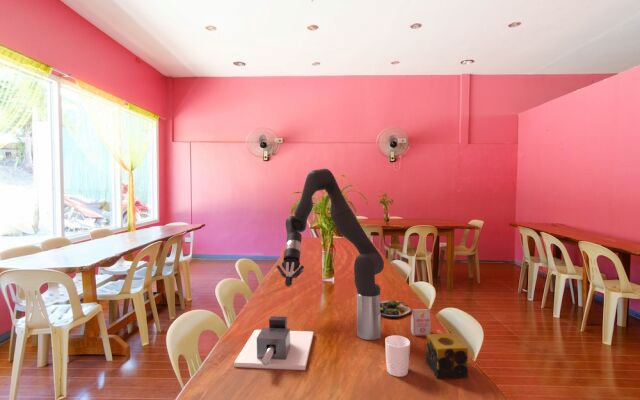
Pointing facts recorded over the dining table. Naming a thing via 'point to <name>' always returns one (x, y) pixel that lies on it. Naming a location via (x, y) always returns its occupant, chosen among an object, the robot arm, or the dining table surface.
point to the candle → (447, 356)
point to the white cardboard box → (420, 322)
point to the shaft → (274, 323)
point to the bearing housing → (274, 342)
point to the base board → (294, 360)
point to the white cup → (397, 355)
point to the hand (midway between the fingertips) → (288, 285)
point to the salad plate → (393, 309)
